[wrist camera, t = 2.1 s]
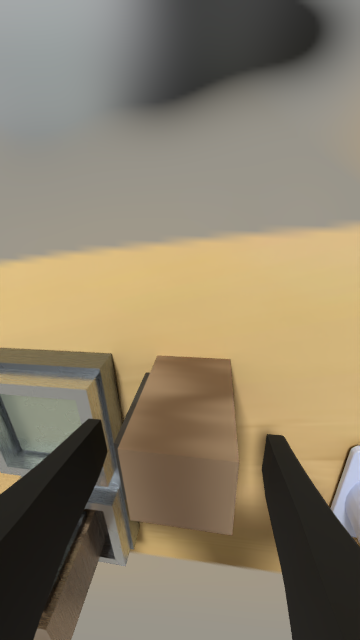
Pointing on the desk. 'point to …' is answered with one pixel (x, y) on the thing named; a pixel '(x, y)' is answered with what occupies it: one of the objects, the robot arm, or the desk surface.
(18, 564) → the robot arm
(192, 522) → the walnut block
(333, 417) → the desk surface
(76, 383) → the grey block holder
